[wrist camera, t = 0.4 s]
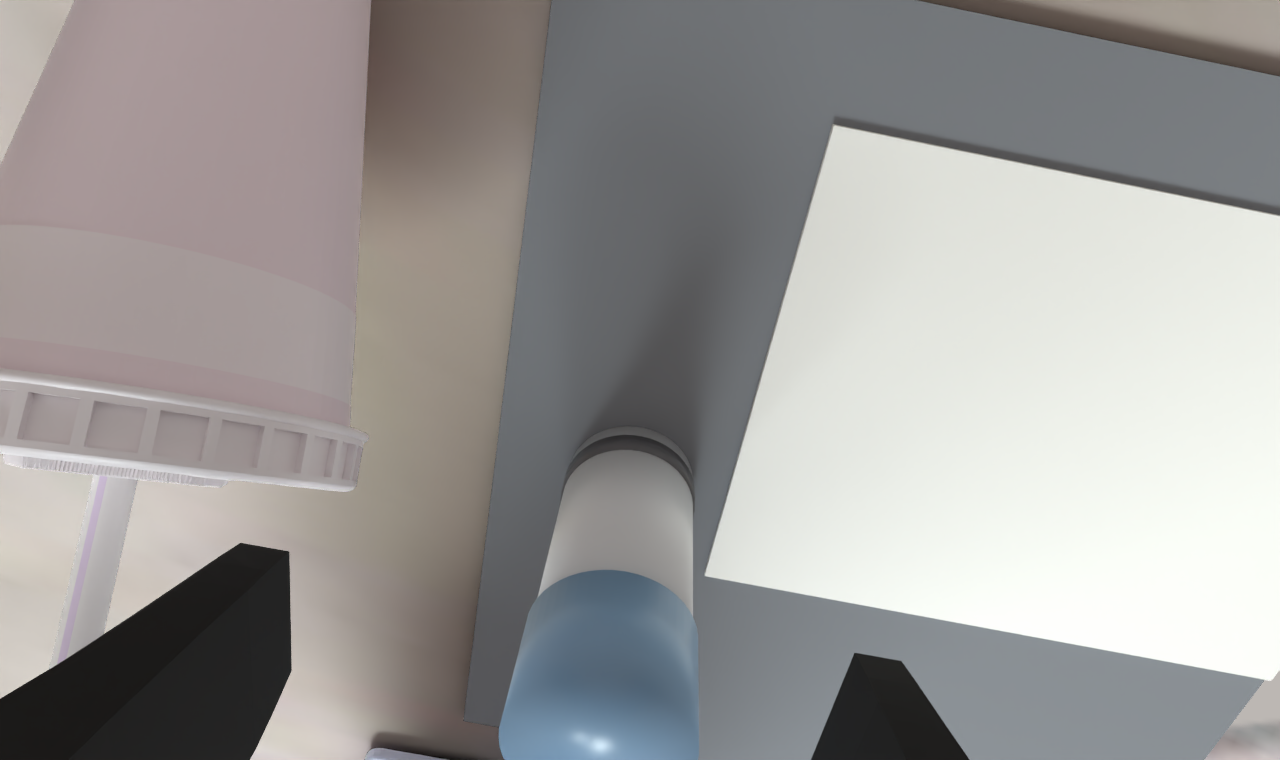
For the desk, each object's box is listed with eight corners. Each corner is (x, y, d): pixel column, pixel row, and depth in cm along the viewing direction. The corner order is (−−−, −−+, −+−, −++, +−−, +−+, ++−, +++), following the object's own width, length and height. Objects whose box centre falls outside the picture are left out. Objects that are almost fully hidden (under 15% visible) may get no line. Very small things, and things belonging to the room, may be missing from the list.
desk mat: (1137, 832, 26) (1142, 841, 26) (465, 713, 26) (463, 721, 25) (1645, 153, 16) (1662, 156, 16) (563, -74, 16) (560, -75, 15)
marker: (681, 543, 22) (676, 825, 15) (556, 520, 22) (489, 793, 14) (710, 436, 20) (719, 693, 13) (575, 411, 20) (510, 656, 13)
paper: (1267, 676, 23) (1271, 680, 22) (704, 571, 22) (704, 575, 22) (1572, 274, 17) (1579, 277, 17) (832, 123, 17) (833, 125, 16)
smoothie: (387, -242, 11) (163, 897, 8) (482, 39, 17) (369, 736, 15) (-77, -284, 11) (-427, 820, 9) (186, 9, 17) (26, 694, 15)
